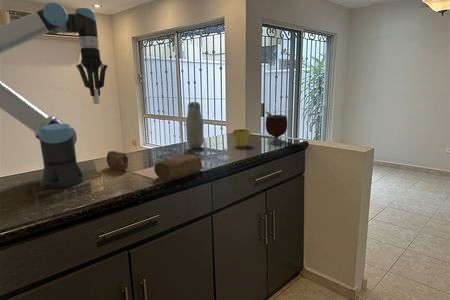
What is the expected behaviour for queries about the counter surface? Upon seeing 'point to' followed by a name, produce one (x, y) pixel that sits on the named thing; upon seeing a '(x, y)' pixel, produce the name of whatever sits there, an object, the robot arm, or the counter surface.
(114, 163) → the mottled brown rounded slab
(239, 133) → the plant pot
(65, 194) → the counter surface
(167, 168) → the block
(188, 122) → the grey bottle
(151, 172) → the pad
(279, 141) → the mate gourd
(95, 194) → the counter surface
